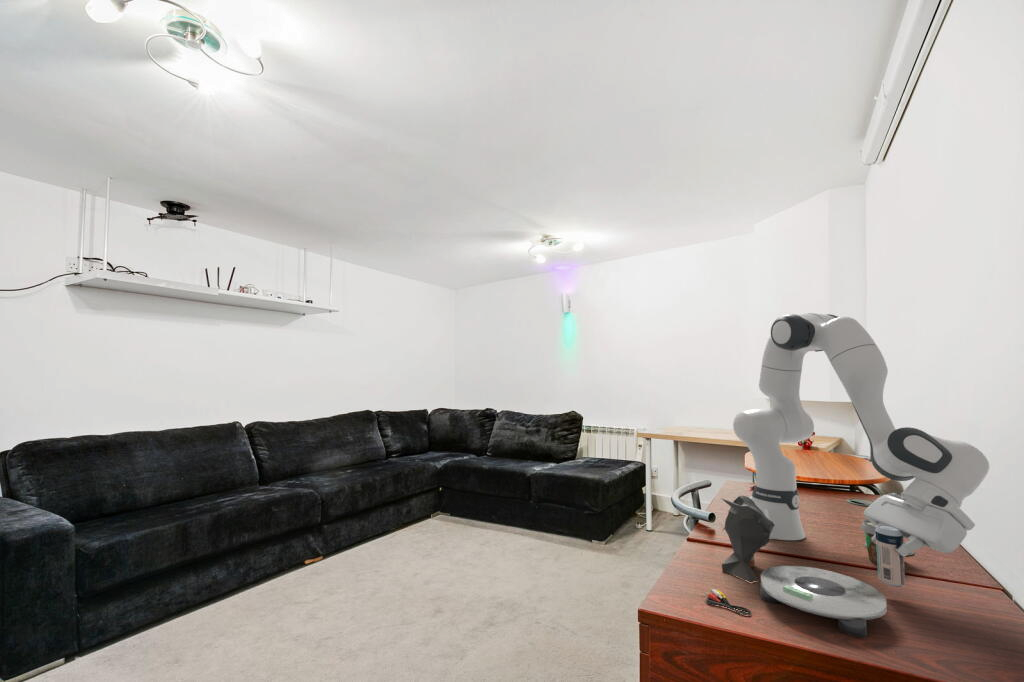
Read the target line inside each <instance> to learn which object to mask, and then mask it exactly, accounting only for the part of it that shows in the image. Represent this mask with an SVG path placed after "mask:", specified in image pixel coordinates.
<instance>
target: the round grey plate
mask: <svg viewBox="0 0 1024 682" xmlns="http://www.w3.org/2000/svg"><path fill="white" fill-rule="evenodd" d="M759 585H760V587H759V588H760V589H759V591H760V592H759V593H760V598H761V599H762V600H763V601H765V602H767V603H771V604H776V603H779V604H785V605H787V606H790V607H791V608H795V609H797V610H800V611H803V612H806V613H810V614H813V615H817V616H821V617H826V618H831V619H837V621H838V630H839V629H840V630H841V631H842V632H841V631H840V630H839V631H840V632H841V633H843V632H844V633H843V634H845V633H846V634H845V635H847V634H849V635H848V636H850V635H852V636H851V637H853V636H856V637H855V638H859V637H864V638H866V637H867V636H868V632H867V631H868V629H867V621H868V620H875V619H878V618H881V617H883V616H884V615H885V614H886V613H887V610H888V607H887V606H888V605H887V599H886V597H885V595H884V594H883V593H882V592H881V591H879V590H878V589H877V588H875V587H874V586H872V585H870V584H868V583H866V582H864V581H862V580H860V579H857V578H854V577H852V576H849V575H845V574H843V573H839V572H835V571H831V570H827V569H823V568H816V567H811V566H810V567H809V566H802V565H779V566H778V565H777V566H773V567H768V568H766V569H764V570H763V571H762V572H761V573H760V581H759Z"/></svg>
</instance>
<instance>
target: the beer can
mask: <svg viewBox="0 0 1024 682" xmlns="http://www.w3.org/2000/svg"><path fill="white" fill-rule="evenodd" d="M875 532H876V551H877V565H876V567H877V578H878V580H879V581H880V582H881V583H882V584H885V585H887V586H891V587H897V588H898V587H899V588H900V587H903V586H905V585H907V584H906V583H907V582H906V572H905V557H904V556H901V555H899V554H897V552H895V551H894V547H896V545H897V544H898V543H899V544H901V545H902V544H903V534H902V532H901V531H900V529H899V530H898V529H896V528H894V527H892V526H887V525H878V527H877V529H876V530H875Z"/></svg>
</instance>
